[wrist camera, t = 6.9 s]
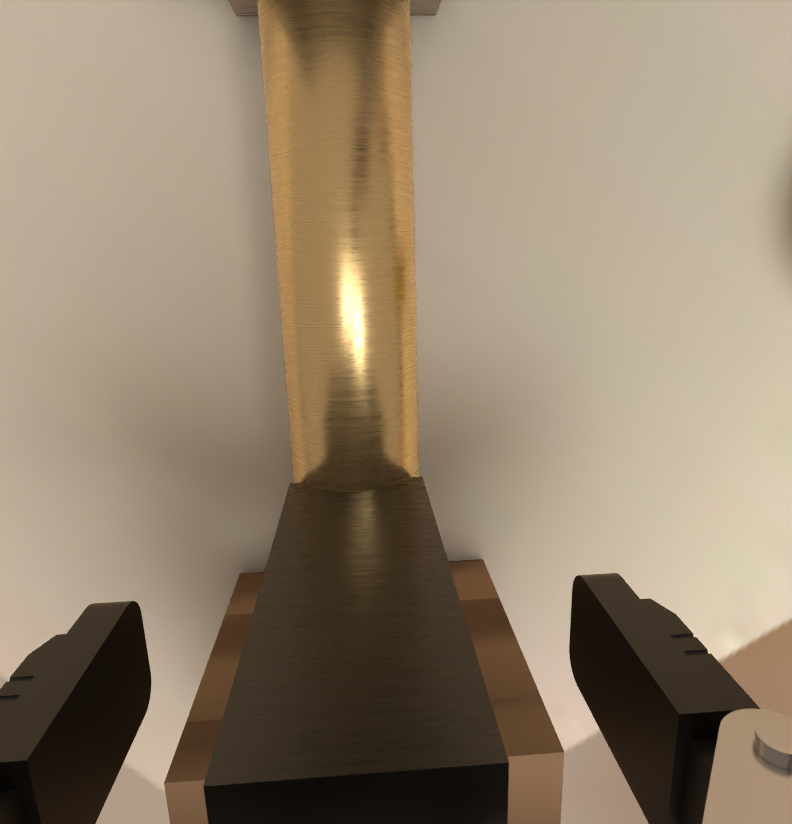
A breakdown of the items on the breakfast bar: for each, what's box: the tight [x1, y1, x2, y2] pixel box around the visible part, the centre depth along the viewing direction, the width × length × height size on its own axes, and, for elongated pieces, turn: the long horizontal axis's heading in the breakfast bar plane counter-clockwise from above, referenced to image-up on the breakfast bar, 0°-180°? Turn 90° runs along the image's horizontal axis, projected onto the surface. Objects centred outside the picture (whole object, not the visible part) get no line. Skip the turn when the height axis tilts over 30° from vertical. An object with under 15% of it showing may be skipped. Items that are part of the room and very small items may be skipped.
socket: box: [164, 560, 564, 824], centre depth 16 cm, size 4×8×8 cm, turn 92°
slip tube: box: [203, 0, 509, 824], centre depth 10 cm, size 22×3×10 cm, turn 2°
